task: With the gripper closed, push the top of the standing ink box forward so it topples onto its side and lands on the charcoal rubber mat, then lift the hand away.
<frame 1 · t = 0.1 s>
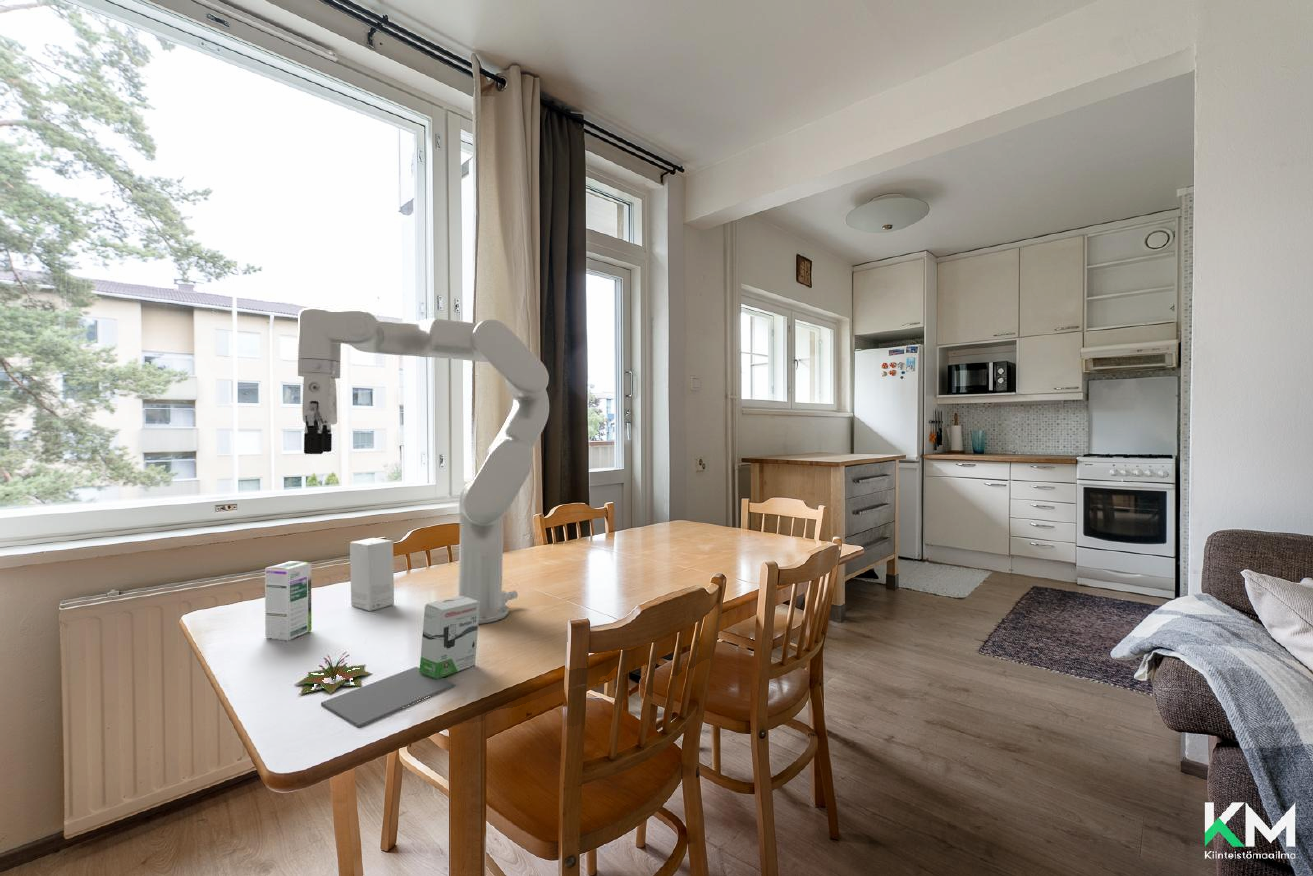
hand: (318, 452, 114), 37 cm above the table, tool pointing down, fingers open, 9 cm apart
syrup box: (288, 635, 113), on the table
lily flower: (334, 683, 93), on the table
skincare box: (371, 606, 132), on the table
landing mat: (390, 695, 89), on the table
ink box: (448, 670, 98), on the table, touching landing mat
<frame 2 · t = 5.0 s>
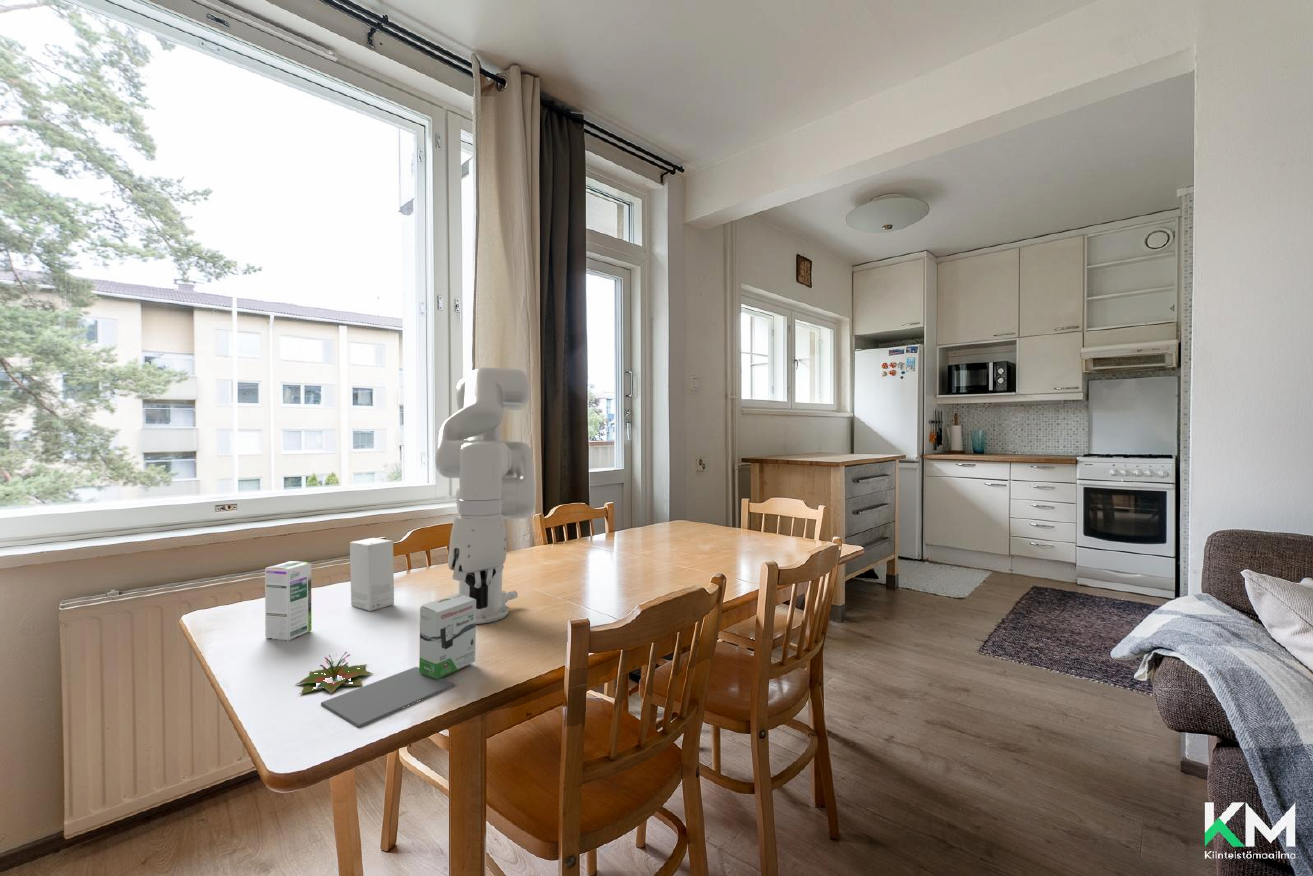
hand: (478, 607, 102), 10 cm above the table, tool pointing down, fingers closed
ink box: (448, 668, 98), on the table, touching gripper, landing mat
everything else where it was.
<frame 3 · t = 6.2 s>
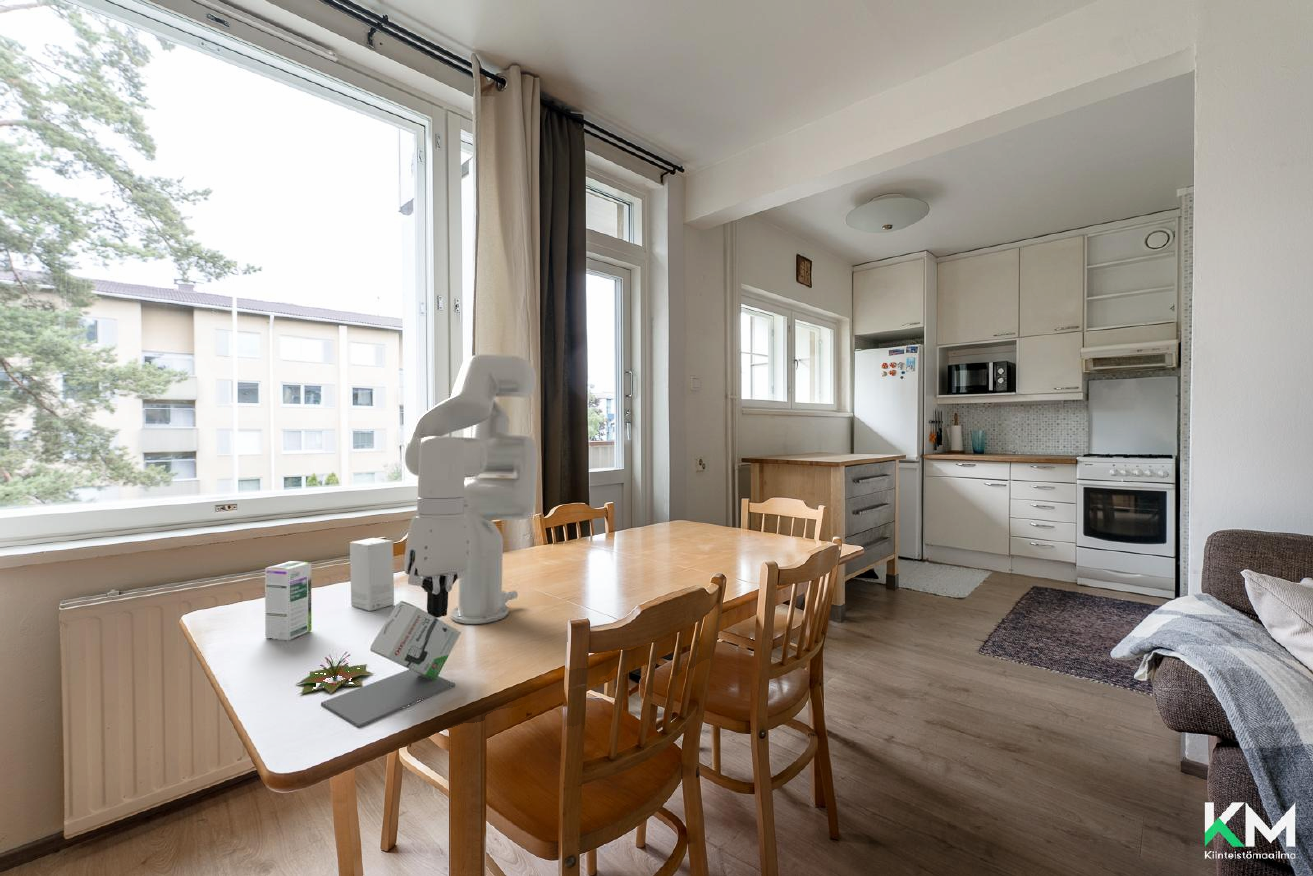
hand: (437, 615, 94), 11 cm above the table, tool pointing down, fingers closed
ink box: (441, 652, 97), point 4 cm above the table, touching gripper, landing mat
everything else where it was.
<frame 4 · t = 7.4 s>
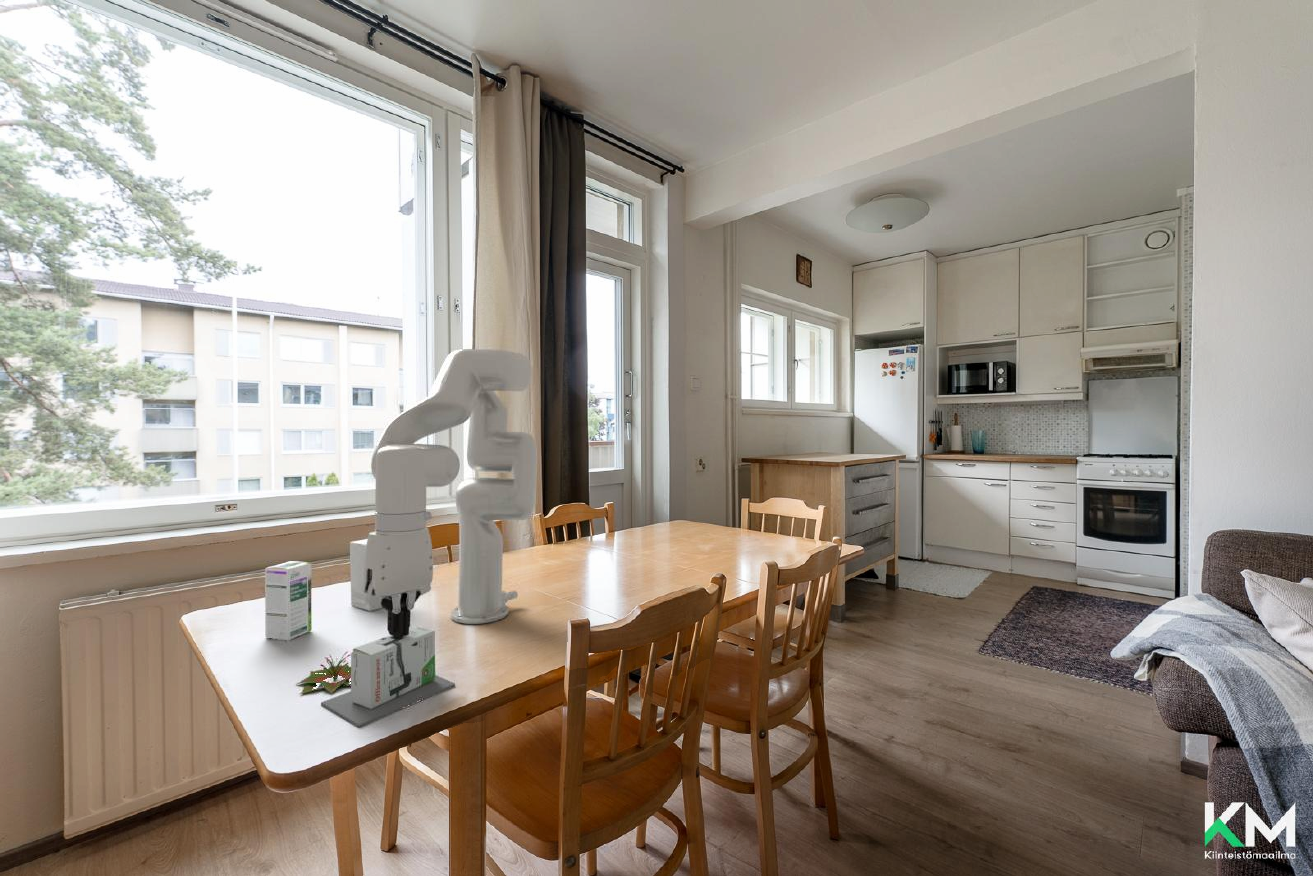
hand: (398, 634, 90), 9 cm above the table, tool pointing down, fingers closed
ink box: (427, 651, 94), point 5 cm above the table, touching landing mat
everything else where it was.
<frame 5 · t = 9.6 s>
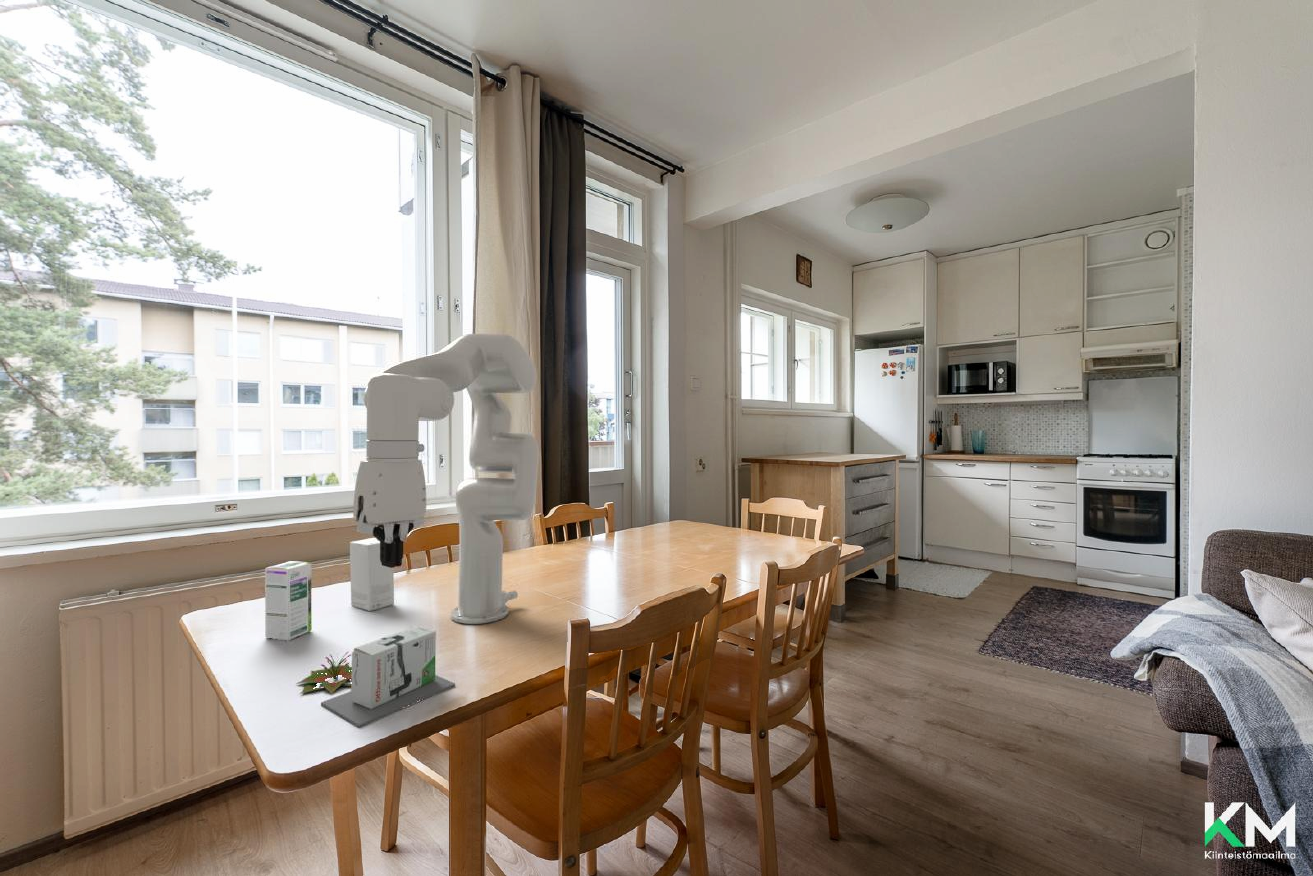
hand: (391, 565, 89), 21 cm above the table, tool pointing down, fingers closed
nothing on the table moved.
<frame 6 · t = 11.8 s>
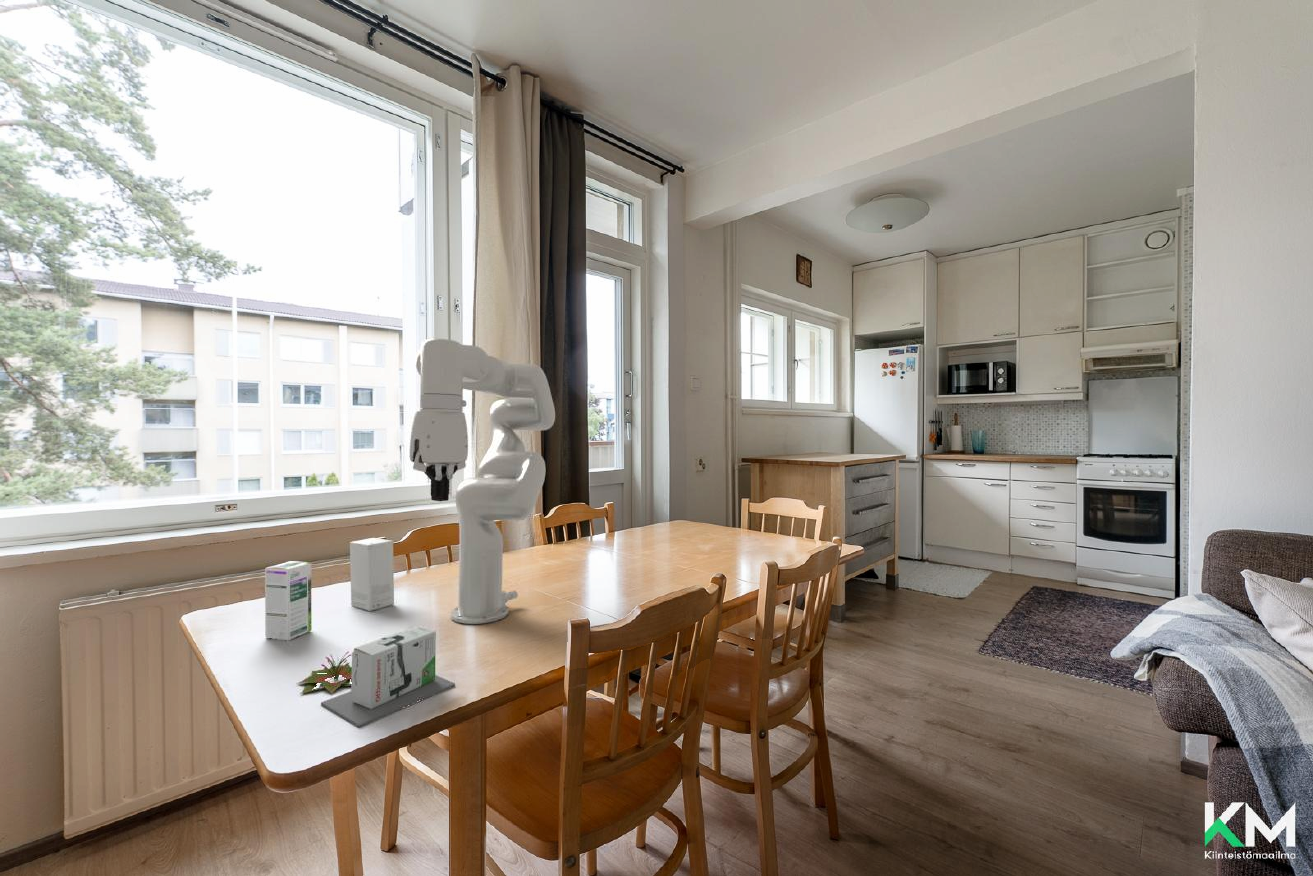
hand: (439, 500, 106), 29 cm above the table, tool pointing down, fingers closed
nothing on the table moved.
at the end: ink box tilted 91°; ink box inside the target area (0.8 cm from its centre), point 4.8 cm above the table; ink box touching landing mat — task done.
